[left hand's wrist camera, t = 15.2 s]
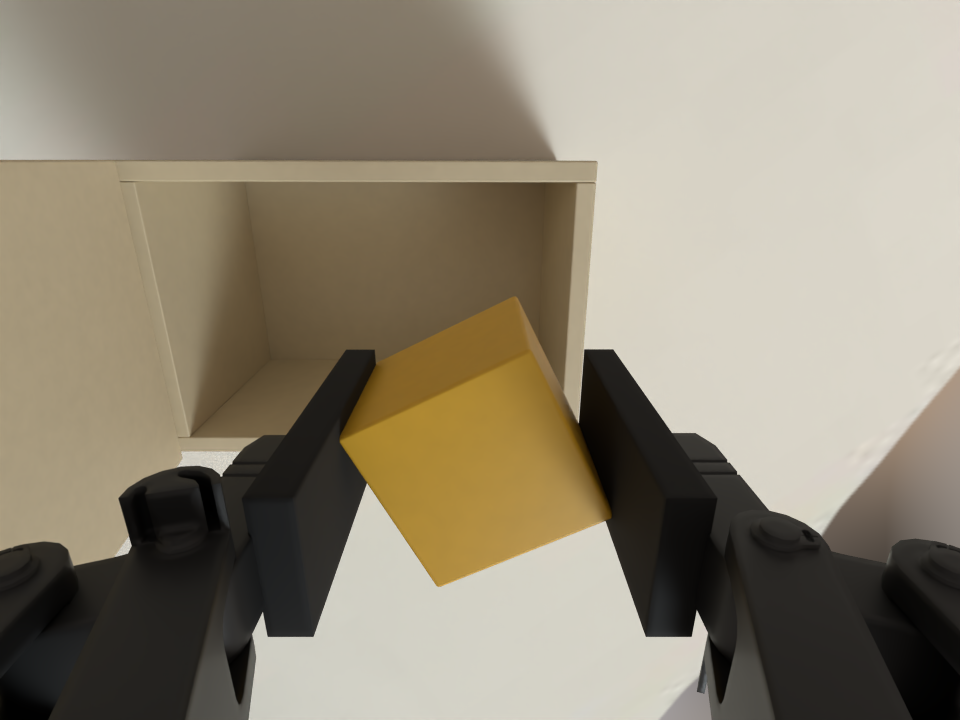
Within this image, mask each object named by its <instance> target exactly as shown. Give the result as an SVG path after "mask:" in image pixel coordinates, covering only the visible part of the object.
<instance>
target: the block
mask: <svg viewBox="0 0 960 720" xmlns="http://www.w3.org/2000/svg"><path fill="white" fill-rule="evenodd" d="M339 440H340V444H341V445H342V447H343V448H344V449H345V451H346V452H347V454H348V455H349V457H350V458H351V460H352V461H353V463H354V464H355V466H356V467H357V469H358V470H359V472H360V473H361V475H362V476H363V478H364V479H365V481H366V482H367V483H368V485H369V486H370V488H371V489H372V491H373V492H374V494H375V495H376V497H377V498H378V500H379V501H380V503H381V504H382V506H383V507H384V509H385V510H386V512H387V513H388V515H389V516H390V518H391V519H392V520H393V522H394V523H395V525H396V526H397V528H398V529H399V531H400V532H401V534H402V535H403V537H404V538H405V540H406V541H407V543H408V544H409V546H410V547H411V549H412V550H413V552H414V553H415V555H416V556H417V557H418V559H419V560H420V562H421V563H422V565H423V566H424V568H425V569H426V571H427V572H428V574H429V575H430V577H431V578H432V580H433V581H434V583H435V584H436V586H438V587H441V586H443V585H446V584H448V583H451V582H453V581H456V580H458V579H461V578H463V577H466V576H468V575H471V574H473V573H476V572H478V571H481V570H483V569H486V568H488V567H491V566H493V565H496V564H498V563H501V562H503V561H506V560H508V559H511V558H513V557H516V556H518V555H521V554H523V553H526V552H528V551H531V550H533V549H536V548H538V547H541V546H543V545H546V544H548V543H551V542H553V541H556V540H558V539H561V538H563V537H566V536H568V535H571V534H573V533H576V532H578V531H581V530H583V529H586V528H588V527H591V526H593V525H596V524H598V523H601V522H603V521H606V520H608V519H611V517H612V511H611V508H610V505H609V503H608V500H607V497H606V495H605V492H604V489H603V487H602V484H601V482H600V479H599V476H598V474H597V471H596V468H595V466H594V463H593V460H592V458H591V455H590V452H589V450H588V447H587V444H586V442H585V439H584V436H583V434H582V431H581V429H580V426H579V423H578V421H577V419H576V417H575V415H574V413H573V411H572V409H571V407H570V404H569V402H568V400H567V398H566V396H565V394H564V392H563V390H562V388H561V386H560V384H559V382H558V380H557V378H556V376H555V374H554V372H553V370H552V368H551V365H550V363H549V361H548V359H547V357H546V355H545V353H544V351H543V349H542V347H541V345H540V343H539V341H538V339H537V337H536V335H535V333H534V331H533V329H532V327H531V324H530V322H529V320H528V318H527V316H526V314H525V312H524V310H523V308H522V306H521V304H520V302H519V300H518V298H517V297H516V296H515V297H511V298H509V299H507V300H505V301H503V302H501V303H499V304H497V305H495V306H493V307H491V308H489V309H487V310H485V311H482V312H480V313H478V314H476V315H474V316H472V317H470V318H468V319H466V320H464V321H462V322H460V323H458V324H456V325H454V326H452V327H449V328H447V329H445V330H443V331H441V332H439V333H437V334H435V335H433V336H431V337H429V338H427V339H425V340H423V341H421V342H419V343H417V344H414V345H412V346H410V347H408V348H406V349H404V350H402V351H400V352H398V353H396V354H394V355H392V356H390V357H388V358H386V359H384V360H381V361H379V362H377V364H376V366H375V368H374V370H373V372H372V374H371V376H370V378H369V380H368V382H367V384H366V386H365V388H364V390H363V392H362V394H361V396H360V398H359V400H358V402H357V403H356V405H355V407H354V409H353V411H352V413H351V415H350V417H349V419H348V421H347V423H346V425H345V427H344V429H343V431H342V433H341V435H340V439H339Z"/></svg>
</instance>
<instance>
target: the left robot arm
mask: <svg viewBox="0 0 960 720" xmlns="http://www.w3.org/2000/svg"><path fill="white" fill-rule="evenodd" d="M375 366H376V358H375V350H346V351H345V352H344V353H343V355H342V356H341V358H340V359H339V360H338V362H337V363H336V365H335V366H334V368H333V369H332V370H331V372H330V373H329V375H328V376H327V378H326V379H325V380H324V382H323V383H322V385H321V386H320V387H319V389H318V390H317V392H316V393H315V395H314V396H313V397H312V399H311V400H310V402H309V403H308V405H307V406H306V407H305V409H304V410H303V412H302V413H301V414H300V416H299V417H298V419H297V420H296V422H295V423H294V424H293V426H292V427H291V429H290V430H289V432H288V433H287V434H286V435H263V436H262V437H260V438H258V439H257V440H255V441H254V442H252V443H250V444H249V445H247V446H246V447H244V448H243V449H242V451H241V452H240V453H239V454H238V456H237V457H236V458H235V459H234V460H233V463H232V465H229V467H228V468H227V469H226V470H225V471H224V473H223V476H222V477H220V474H218V473H217V472H216V471H214V470H213V469H211V468H206V467H201V466H185V467H178V468H173V469H168V470H164V471H161V472H158V473H155V474H153V475H150V476H148V477H145V478H143V479H141V480H140V481H138V482H136V483H135V484H133V485H132V486H130V487H128V488H127V489H126V490H125V491H124V493H123V494H122V495H121V496H120V497H119V498H118V499H119V503H120V506H121V510H122V513H123V517H124V520H125V524H126V527H127V531H128V534H129V538H130V541H131V545H132V547H131V549H130V551H129V553H128V554H125V555H122V556H118V557H113V558H108V559H104V560H99V561H94V562H89V563H84V564H80V565H75V566H73V563H72V560H71V557H70V554H69V551H68V549H67V548H65V547H64V546H63V545H62V544H60V543H55V542H46V541H43V542H36V543H28V544H22V545H18V546H14V547H13V548H11V547H10V548H8V549H5V550H2V551H0V720H248V718H249V710H250V702H251V694H252V686H253V678H254V670H255V662H256V654H255V646H254V641H253V636H252V633H253V631H254V629H255V627H256V625H257V623H258V621H259V618H260V616H261V614H262V612H263V614H264V620H265V625H266V630H267V635H268V637H313V636H314V634H315V631H316V628H317V625H318V622H319V619H320V616H321V614H322V611H323V608H324V605H325V602H326V599H327V596H328V593H329V591H330V588H331V585H332V582H333V579H334V576H335V573H336V570H337V568H338V565H339V562H340V559H341V556H342V553H343V550H344V547H345V545H346V542H347V539H348V536H349V533H350V530H351V527H352V524H353V522H354V519H355V516H356V513H357V510H358V507H359V504H360V501H361V499H362V496H363V493H364V490H365V487H366V484H367V482H366V481H365V479H364V478H363V476H362V475H361V473H360V472H359V470H358V469H357V467H356V466H355V464H354V463H353V461H352V460H351V458H350V457H349V455H348V454H347V452H346V451H345V449H344V448H343V447H342V445H341V444H340V440H339V439H340V435H341V433H342V431H343V429H344V427H345V425H346V423H347V421H348V419H349V417H350V415H351V413H352V411H353V409H354V407H355V405H356V403H357V402H358V400H359V398H360V396H361V394H362V392H363V390H364V388H365V386H366V384H367V382H368V380H369V378H370V376H371V374H372V372H373V370H374V368H375ZM579 426H580V429H581V431H582V434H583V436H584V439H585V442H586V444H587V447H588V450H589V452H590V455H591V458H592V460H593V463H594V466H595V468H596V471H597V474H598V476H599V479H600V482H601V484H602V487H603V489H604V492H605V495H606V497H607V500H608V503H609V505H610V508H611V511H612V517H611V519H608V520H606V523H607V526H608V529H609V532H610V535H611V538H612V541H613V543H614V546H615V549H616V552H617V555H618V558H619V561H620V564H621V566H622V569H623V572H624V575H625V578H626V581H627V584H628V587H629V589H630V592H631V595H632V598H633V601H634V604H635V607H636V610H637V612H638V615H639V618H640V621H641V624H642V627H643V630H644V633H645V635H646V637H692V632H693V627H694V621H695V616H696V611H698V613H699V615H700V617H701V619H702V621H703V623H704V625H705V627H706V629H707V632H708V636H707V641H706V646H705V651H704V656H703V661H702V666H701V671H700V676H699V681H698V688H697V692H700V693H705V688H706V684H707V685H708V693H709V701H710V708H711V717H712V720H960V548H957V547H954V546H951V545H946V544H944V543H941V542H936V541H929V540H921V539H909V540H901V541H899V542H898V543H896V544H895V545H894V546H893V547H892V548H891V551H890V554H889V557H888V560H887V563H882V562H877V561H873V560H868V559H863V558H858V557H853V556H848V555H844V554H839V553H836V552H832V551H831V550H830V548H829V546H828V544H827V543H826V542H825V541H824V539H823V538H822V537H821V535H820V534H819V533H817V532H816V531H815V530H813V529H812V528H810V527H809V526H808V525H806V524H805V523H803V522H801V521H798V520H796V519H794V518H792V517H790V516H787V515H784V514H780V513H776V512H772V511H769V510H768V509H767V508H766V506H765V505H764V504H763V503H762V501H761V500H760V499H759V498H758V497H757V495H756V494H755V493H754V492H753V491H752V489H751V488H750V487H749V486H748V484H747V483H746V482H745V481H744V480H743V478H742V477H741V476H740V475H737V471H736V470H735V469H734V468H733V466H732V465H731V464H730V463H727V459H726V458H725V457H724V455H723V454H722V453H721V452H720V451H719V449H718V448H717V447H716V446H715V445H714V444H712V443H711V442H709V441H707V440H706V439H704V438H702V437H701V436H699V435H698V434H696V433H672V432H671V431H670V430H669V428H668V427H667V425H666V424H665V423H664V421H663V420H662V418H661V417H660V415H659V414H658V413H657V411H656V410H655V408H654V407H653V405H652V404H651V403H650V401H649V400H648V398H647V397H646V396H645V394H644V393H643V391H642V390H641V388H640V387H639V386H638V384H637V383H636V381H635V380H634V378H633V377H632V376H631V374H630V373H629V371H628V370H627V368H626V367H625V366H624V364H623V363H622V361H621V360H620V359H619V357H618V356H617V354H616V353H615V351H614V350H584V362H583V376H582V389H581V403H580V416H579Z"/></svg>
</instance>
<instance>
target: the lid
mask: <svg viewBox="0 0 960 720" xmlns="http://www.w3.org/2000/svg"><path fill="white" fill-rule="evenodd" d="M181 460H182V454H181V450H180V446H179V441H178V437H177V432H176V428H175V424H174V419H173V415H172V410H171V406H170V401H169V397H168V393H167V388H166V384H165V379H164V375H163V371H162V366H161V362H160V357H159V353H158V349H157V344H156V340H155V335H154V331H153V327H152V322H151V318H150V313H149V309H148V305H147V300H146V296H145V291H144V287H143V283H142V278H141V274H140V269H139V265H138V261H137V256H136V252H135V247H134V243H133V239H132V234H131V230H130V225H129V221H128V216H127V212H126V208H125V203H124V199H123V194H122V190H121V186H120V181H119V177H118V172H117V168H116V164H115V161H114V160H0V551H2V550H5V549H8V548H10V547H11V548H13V547H14V546H18V545H22V544H28V543H36V542H43V541H46V542H55V543H60V544H62V545H63V546H64V547H65V548H67V549H68V551H69V554H70V557H71V560H72V563H73V566H75V565H80V564H84V563H89V562H94V561H99V560H104V559H108V558H113V557H115V555H116V554H117V552H118V551H119V549H120V548H121V546H122V545H123V544H124V542H125V541H126V539H127V538H128V536H129V534H128V531H127V527H126V524H125V520H124V517H123V513H122V510H121V506H120V503H119V499H118V498H119V497H120V496H121V495H122V494H123V493H124V491H125V490H126V489H127V488H128V487H130V486H132V485H133V484H135V483H136V482H138V481H140V480H141V479H143V478H145V477H148V476H150V475H153V474H155V473H158V472H161V471H164V470H168V469H173V468H176V467H177V466H178V464H179V463H180V462H181Z"/></svg>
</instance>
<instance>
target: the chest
mask: <svg viewBox="0 0 960 720" xmlns="http://www.w3.org/2000/svg"><path fill="white" fill-rule="evenodd" d="M114 161H115V164H116V168H117V172H118V177H119V181H120V186H121V190H122V194H123V199H124V203H125V208H126V212H127V216H128V221H129V225H130V230H131V234H132V239H133V243H134V247H135V252H136V256H137V261H138V265H139V269H140V274H141V278H142V283H143V287H144V291H145V296H146V300H147V305H148V309H149V313H150V318H151V322H152V327H153V331H154V335H155V340H156V344H157V349H158V353H159V357H160V362H161V366H162V371H163V375H164V379H165V384H166V388H167V393H168V397H169V401H170V406H171V410H172V415H173V419H174V424H175V428H176V432H177V437H178V441H179V446H180V450H181V451H242V449H243V448H244V447H246V446H247V445H249V444H250V443H252V442H254V441H255V440H257V439H258V438H260V437H262V436H263V435H286V434H287V433H288V432H289V430H290V429H291V427H292V426H293V424H294V423H295V422H296V420H297V419H298V417H299V416H300V414H301V413H302V412H303V410H304V409H305V407H306V406H307V405H308V403H309V402H310V400H311V399H312V397H313V396H314V395H315V393H316V392H317V390H318V389H319V387H320V386H321V385H322V383H323V382H324V380H325V379H326V378H327V376H328V375H329V373H330V372H331V370H332V369H333V368H334V366H335V365H336V363H337V362H338V360H339V359H340V358H341V356H342V355H343V353H344V352H345V351H346V350H375V358H376V364H377V362H379V361H381V360H384V359H386V358H388V357H390V356H392V355H394V354H396V353H398V352H400V351H402V350H404V349H406V348H408V347H410V346H412V345H414V344H417V343H419V342H421V341H423V340H425V339H427V338H429V337H431V336H433V335H435V334H437V333H439V332H441V331H443V330H445V329H447V328H449V327H452V326H454V325H456V324H458V323H460V322H462V321H464V320H466V319H468V318H470V317H472V316H474V315H476V314H478V313H480V312H482V311H485V310H487V309H489V308H491V307H493V306H495V305H497V304H499V303H501V302H503V301H505V300H507V299H509V298H511V297H515V296H516V297H517V298H518V300H519V302H520V304H521V306H522V308H523V310H524V312H525V314H526V316H527V318H528V320H529V322H530V324H531V327H532V329H533V331H534V333H535V335H536V337H537V339H538V341H539V343H540V345H541V347H542V349H543V351H544V353H545V355H546V357H547V359H548V361H549V363H550V365H551V368H552V370H553V372H554V374H555V376H556V378H557V380H558V382H559V384H560V386H561V388H562V390H563V392H564V394H565V396H566V398H567V400H568V402H569V404H570V407H571V409H572V411H573V413H574V415H575V417H576V419H577V421H578V415H579V401H580V388H581V375H582V362H583V348H584V335H585V322H586V309H587V295H588V282H589V269H590V256H591V243H592V229H593V216H594V203H595V190H596V183H594V182H596V177H597V164H598V163H597V161H473V160H114Z"/></svg>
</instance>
